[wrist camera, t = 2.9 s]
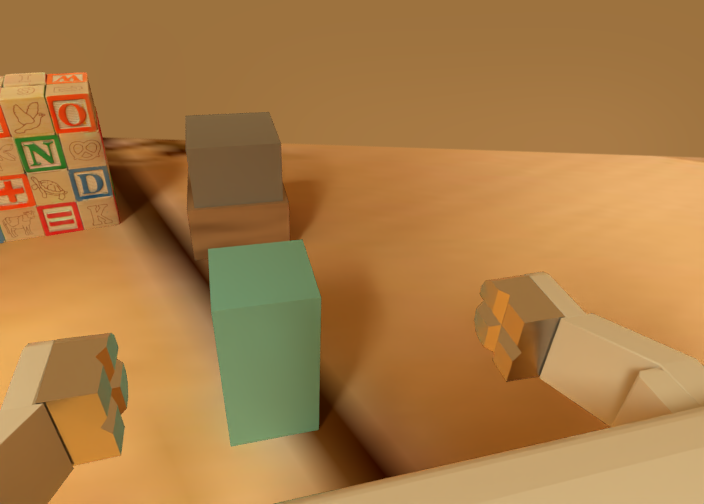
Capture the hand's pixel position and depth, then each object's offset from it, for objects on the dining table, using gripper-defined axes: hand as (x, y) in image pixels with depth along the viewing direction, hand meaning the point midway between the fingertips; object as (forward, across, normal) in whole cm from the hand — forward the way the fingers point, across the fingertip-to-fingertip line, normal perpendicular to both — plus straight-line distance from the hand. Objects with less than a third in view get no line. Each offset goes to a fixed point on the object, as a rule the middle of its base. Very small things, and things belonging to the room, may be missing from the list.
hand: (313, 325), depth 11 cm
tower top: (+32, +1, +13) cm, 35 cm away
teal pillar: (+12, 0, +18) cm, 21 cm away
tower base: (+32, +1, +18) cm, 37 cm away
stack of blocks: (+36, +22, +18) cm, 46 cm away
